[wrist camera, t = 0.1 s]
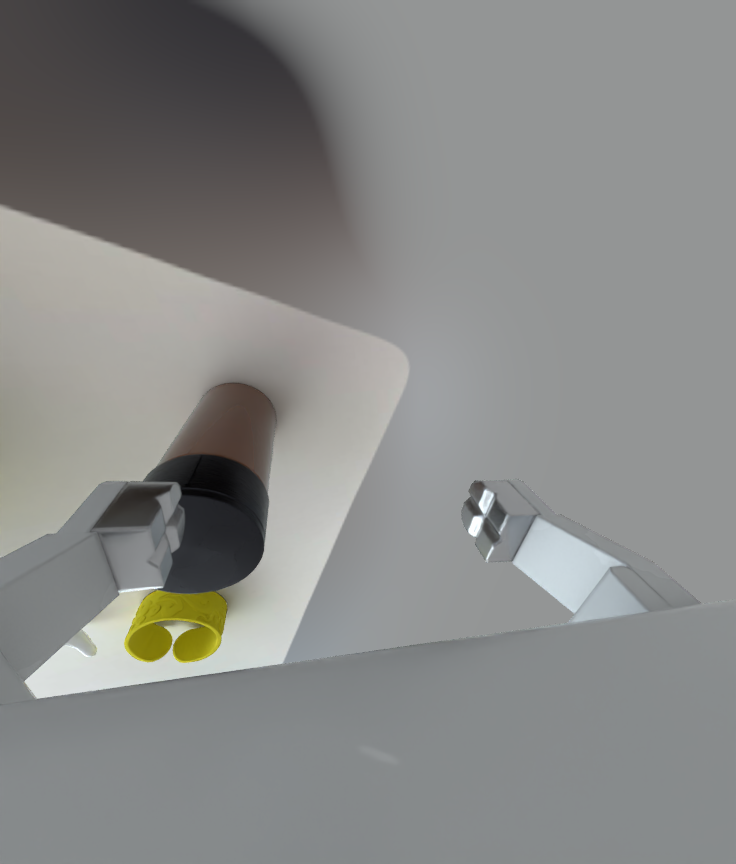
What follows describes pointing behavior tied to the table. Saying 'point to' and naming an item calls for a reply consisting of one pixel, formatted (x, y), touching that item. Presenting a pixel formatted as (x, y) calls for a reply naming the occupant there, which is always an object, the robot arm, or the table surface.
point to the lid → (215, 522)
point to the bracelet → (161, 606)
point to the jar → (230, 429)
